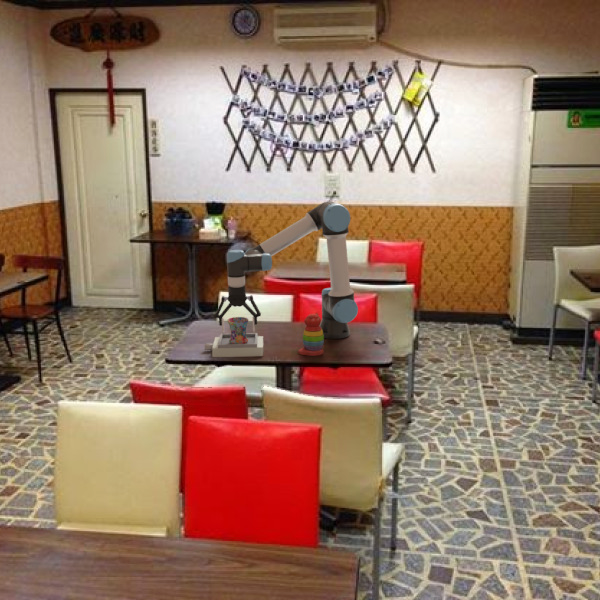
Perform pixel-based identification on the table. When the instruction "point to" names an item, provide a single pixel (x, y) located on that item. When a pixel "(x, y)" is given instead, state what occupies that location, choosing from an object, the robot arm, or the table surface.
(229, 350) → the open box
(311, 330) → the stacking bear
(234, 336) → the mug
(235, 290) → the robot arm
